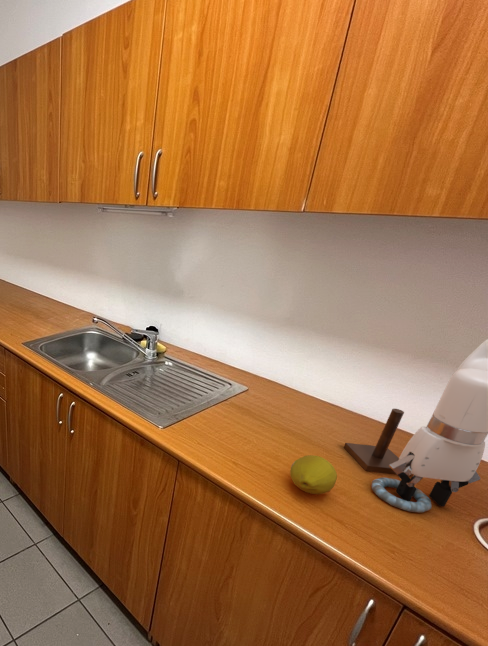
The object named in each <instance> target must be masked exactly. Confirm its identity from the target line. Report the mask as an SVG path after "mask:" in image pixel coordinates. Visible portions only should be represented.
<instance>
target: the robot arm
mask: <svg viewBox="0 0 488 646" xmlns="http://www.w3.org/2000/svg"><path fill="white" fill-rule="evenodd" d="M487 436H488V338H487V339H485V340H484V341H483V342H482V343H480V344H479V345H478V346H477V347H476V348H475V349H474V350H473V351H472V352H471V353H470V354H469V355H468V356H467V357H466V358H465V359H464V360H463V361H461V363H460V364H459V366H458V367H457V370H456V371H454V372H453V373H452V375H451V376H450V378H449V380H448V383H447V384H446V387H445V389H444V390H443V392H442V393H441V396H440V399H439V400H438V402H437V405H436V406H435V409H434V411H433V413H432V414H431V416H430V419H429V420H428V422H427V425H426V426H420V428H418V429H417V430H416V432H415V433H414V434H413V435H412V436H411V437H410V439H409V440H408V442H407V443H406V445H405V446H404V448H403V450H402V451H401V453H400V455H399V456H398V458H399V460H398V461H396V462H394V463H392V464H390V465H389V467H390V468H391V469H392V470H393V471H394V472H395V473H396V474H395V475H397V476H398V478H399V479H400V480H399V481H400V483H399V485H398V487H397V489H395V493H396V494H397V495H398V496H399V498H400V499H403V500H406V501H410V502H412V501H411V500H412V498H414V497H413V495H414V493H415V491H416V488H417V487H416V485H417V484H418V483H419V482H420V481H421V480H423V479H424V478H426V479H432V480H433V479H434V480H440V481H436V482H435V483H434V484H433V487H432V488H431V490H430V492H429V493H428V497H429V498H430V500H432V501H433V502H434V503H435V504H437V506H439V507H442V508H444V507H446V504H447V503H448V501H449V500H450V498H451V496H452V494H453V493H457V492H459V490H460V489H461V488H463V487H466V486H468V485H469V484H472V483H476V482H478V481H480V480H481V479H482V478H481V476H480V475H479V473H478V472H477V470H478V468H479V466H480V464H481V461H482V460H483V459H482V458H483V456H484V452H485V447H486V441H485V440H486V438H487ZM406 467H407V468H406ZM404 468H406V469H405V470H404V471H403V469H404ZM411 474H412V475H413V476H412V475H411ZM410 475H411V476H410Z"/></svg>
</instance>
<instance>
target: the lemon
mask: <svg viewBox="0 0 488 646" xmlns="http://www.w3.org/2000/svg"><path fill="white" fill-rule="evenodd" d="M289 471H290V472H289V474H290V479H291V481H292V482H293V484H294V485H295V486H296V487H297V488H298V489H300V490H301V491H303V492H305V493H306V494H310V495H311V494H312V495H323V494H326V493H329V492H331V490H332V489H333V488H334V487H335V485H336V482H337V479H338V473H337V470H336V469H335V466H333V464H332V463H331V462H330V461H328V459H326V458H324V457H322V456H319V455H312V454H310V455H309V454H307V455H304V456H301V457H299V458H297V459H296V460H295V461H293V462H292V464H291V466H290V470H289Z"/></svg>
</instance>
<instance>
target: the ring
mask: <svg viewBox="0 0 488 646" xmlns="http://www.w3.org/2000/svg"><path fill="white" fill-rule="evenodd" d="M400 481H401V480H399V479H396V478H390V477H384V476H383V477H378V478H375V479H373V480H371V490H372V491H373V493H374V494H375V495H376V496H377V497H378V498H379V499H380V500H382V501H384V502H385V503H387V504H389V505H390V506H392V507H395V508H397V509H400V510H402V511H406V512H412V513H418V514H421V513H425V512H428V511H430V510H432V508H433V507H432V499H431V498H430V497H429V496H428V495H427V494H426V493H424V492H423V490H421V489H419V488H418V487H416V491H415V493H414V495H413V497H412V498H414V500H415V501H406V500H403V499H402V498H401V497H397V496H395V494H392V493H391V492H389V491H388V490H387V489H386V488H391V489H395V490H396V489H397V487H398V485H399V483H400Z"/></svg>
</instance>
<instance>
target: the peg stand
mask: <svg viewBox="0 0 488 646" xmlns="http://www.w3.org/2000/svg"><path fill="white" fill-rule="evenodd" d="M404 414H405V411H404V410H402V409H399V408H392V409H391V412H390V413H389V415H388V418H387V420H386V422H385V424H384V427H383V429H382V431H381V432H380V433H381V434H380V435H379V438H378V440H377V442H376V444H375V445H370V444H360V443H354V442H353V443H351V442H345V443H344V445H343V449H344V450H345V451H346V452H347V453H348V454H349V455H350V456H351V457H352V458H353V460H355V461H356V462H357V463H358V465H360V466H361V467H362V468H363V470H364V471H366V472H374V473H381V474H389V475H390V474H391V475H397V474H396V473H395V472H394V471H393V470H392V469H391V468H390V467H389V465H390V464H392V463H394V462H396V461H398V460H399V456H397V455H396V453H394V452H393V451H391V449H390V448H389V447H390V444H391V442H392V440H393V438H394V436H395V433H396V431H397V429H398V428H399V425H400V423H401V421H402V418H403V416H404ZM406 468H407V467H406ZM406 468H404V469H403V471H404V470H405V469H406ZM412 475H413V474H411V475H410V476H409V477H412Z"/></svg>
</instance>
